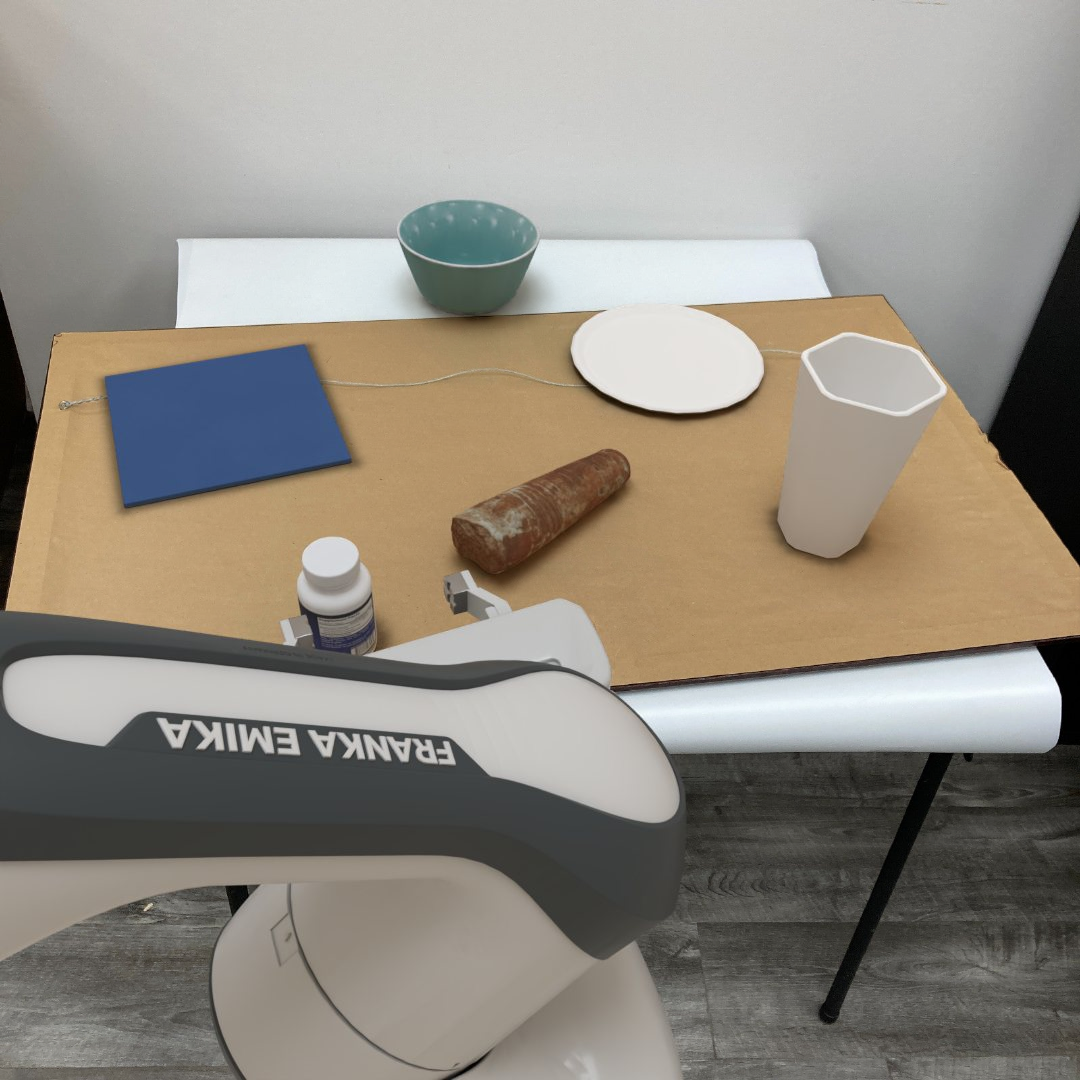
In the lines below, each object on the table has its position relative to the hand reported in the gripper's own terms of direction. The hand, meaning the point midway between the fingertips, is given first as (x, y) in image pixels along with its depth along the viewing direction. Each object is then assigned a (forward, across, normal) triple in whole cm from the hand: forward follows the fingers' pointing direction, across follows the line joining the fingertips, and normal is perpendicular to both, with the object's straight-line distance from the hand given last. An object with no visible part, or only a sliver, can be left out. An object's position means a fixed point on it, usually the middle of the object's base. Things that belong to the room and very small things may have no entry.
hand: (376, 601), depth 55 cm
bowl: (+58, +27, -18) cm, 66 cm away
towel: (+44, -3, -17) cm, 47 cm away
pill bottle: (+12, 0, -18) cm, 22 cm away
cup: (+10, +43, -18) cm, 47 cm away
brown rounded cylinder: (+20, +20, -18) cm, 33 cm away
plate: (+38, +43, -18) cm, 60 cm away
